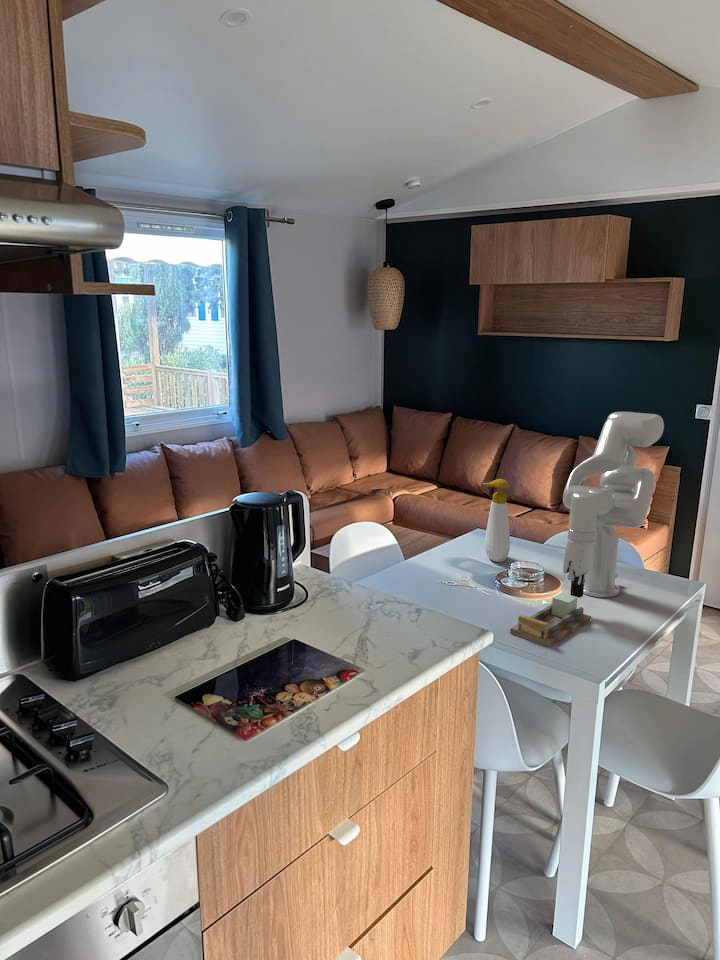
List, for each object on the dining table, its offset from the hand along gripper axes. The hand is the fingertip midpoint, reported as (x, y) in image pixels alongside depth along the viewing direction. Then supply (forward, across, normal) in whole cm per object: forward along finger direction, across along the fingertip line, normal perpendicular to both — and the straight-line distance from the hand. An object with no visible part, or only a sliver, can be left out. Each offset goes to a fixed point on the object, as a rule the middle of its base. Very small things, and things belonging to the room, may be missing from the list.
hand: (576, 595), depth 215 cm
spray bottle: (+5, -23, -43) cm, 49 cm away
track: (+6, +14, 0) cm, 15 cm away
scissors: (+6, +4, -33) cm, 34 cm away
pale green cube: (+4, +7, 0) cm, 8 cm away
